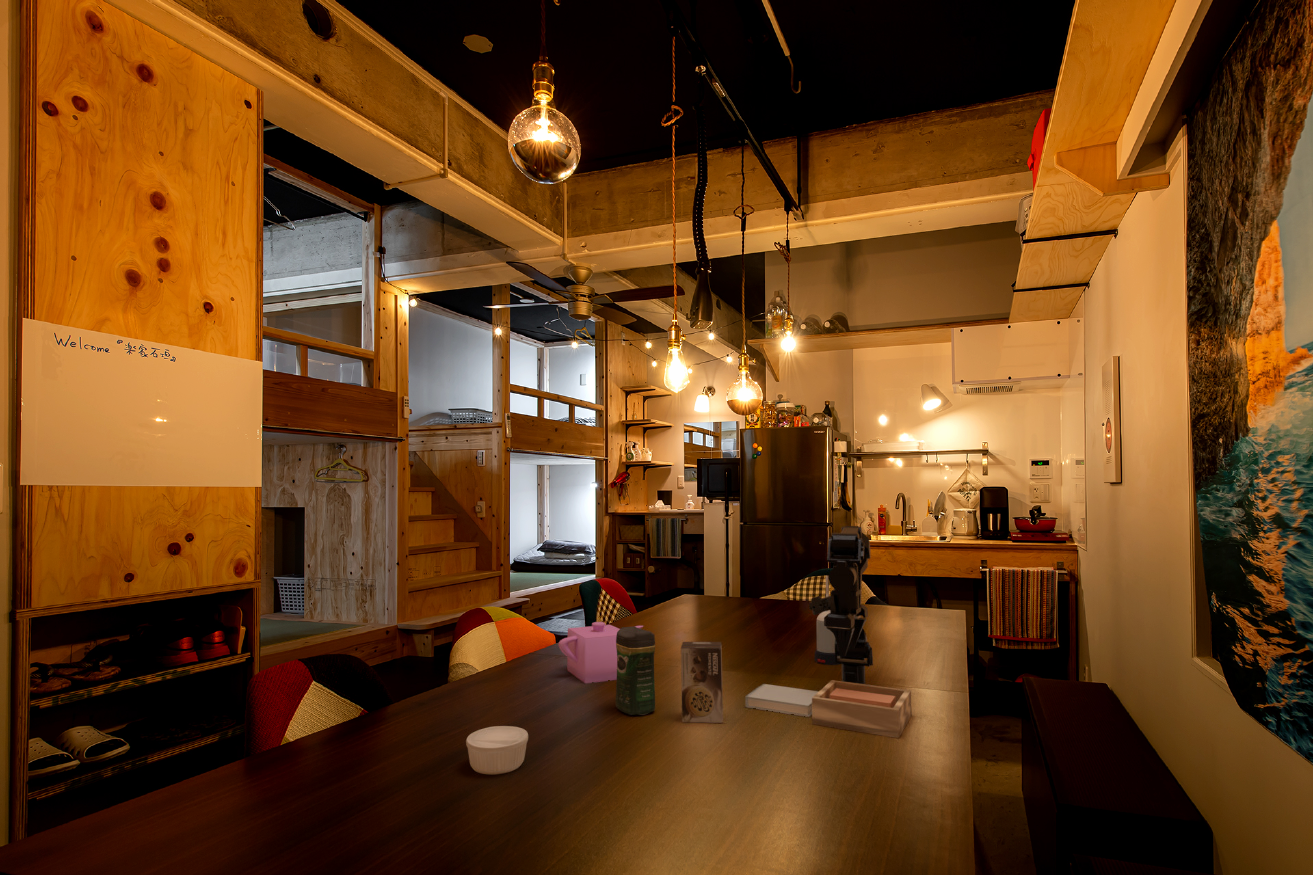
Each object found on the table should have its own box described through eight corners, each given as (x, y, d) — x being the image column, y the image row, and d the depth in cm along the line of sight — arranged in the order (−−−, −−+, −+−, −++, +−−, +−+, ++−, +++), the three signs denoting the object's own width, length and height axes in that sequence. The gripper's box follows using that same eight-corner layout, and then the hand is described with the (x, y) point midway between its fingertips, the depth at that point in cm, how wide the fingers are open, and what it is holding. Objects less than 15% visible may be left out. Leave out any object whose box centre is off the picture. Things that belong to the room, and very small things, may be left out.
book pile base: (763, 694, 172) (763, 683, 172) (823, 702, 165) (823, 692, 165) (745, 707, 162) (745, 696, 162) (808, 717, 155) (808, 705, 155)
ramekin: (473, 782, 120) (473, 750, 121) (459, 760, 130) (460, 731, 130) (535, 770, 125) (536, 740, 126) (518, 749, 135) (518, 722, 136)
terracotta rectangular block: (836, 705, 159) (836, 688, 159) (895, 714, 152) (895, 696, 153) (829, 713, 153) (829, 694, 154) (890, 722, 147) (890, 703, 148)
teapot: (654, 675, 191) (654, 623, 192) (567, 686, 180) (567, 630, 181) (632, 663, 204) (632, 614, 205) (550, 672, 194) (550, 621, 195)
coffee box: (722, 714, 157) (722, 641, 158) (722, 723, 150) (722, 647, 152) (682, 713, 158) (682, 640, 159) (680, 722, 151) (680, 646, 152)
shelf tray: (832, 703, 164) (831, 680, 165) (911, 715, 156) (911, 690, 156) (812, 724, 150) (811, 697, 150) (898, 738, 141) (898, 710, 142)
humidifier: (815, 664, 202) (813, 577, 204) (813, 657, 210) (812, 574, 212) (844, 665, 201) (842, 578, 203) (841, 658, 209) (839, 574, 211)
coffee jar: (660, 712, 158) (660, 629, 159) (630, 718, 154) (630, 633, 155) (640, 701, 166) (640, 622, 167) (610, 706, 162) (611, 625, 164)
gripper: (823, 579, 178) (824, 641, 177) (801, 588, 162) (802, 656, 161) (867, 582, 173) (869, 646, 172) (849, 591, 157) (851, 662, 156)
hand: (847, 652), depth 165 cm, fingers open, 9 cm apart
